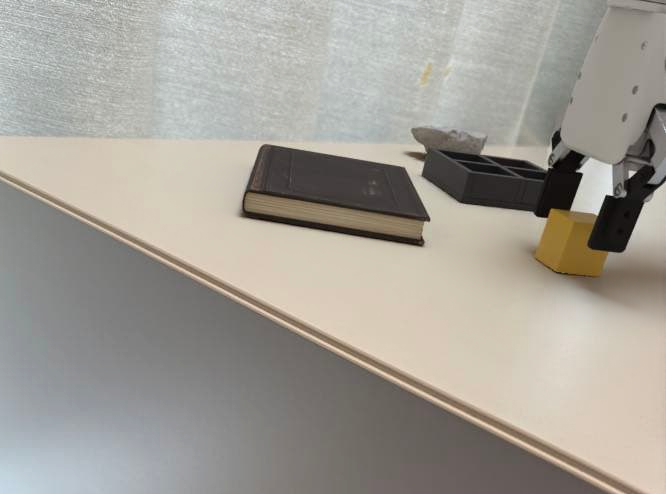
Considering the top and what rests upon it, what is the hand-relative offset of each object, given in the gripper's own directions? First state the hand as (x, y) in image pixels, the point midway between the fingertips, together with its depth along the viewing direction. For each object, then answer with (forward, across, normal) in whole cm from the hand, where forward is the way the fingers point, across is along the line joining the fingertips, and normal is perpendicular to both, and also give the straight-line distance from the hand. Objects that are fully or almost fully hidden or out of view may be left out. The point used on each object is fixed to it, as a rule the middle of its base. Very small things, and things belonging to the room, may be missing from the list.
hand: (575, 233), depth 67 cm
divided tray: (+3, +28, -5) cm, 29 cm away
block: (+3, 0, 0) cm, 3 cm away
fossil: (+3, +47, -6) cm, 48 cm away
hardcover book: (+3, +15, +18) cm, 23 cm away
